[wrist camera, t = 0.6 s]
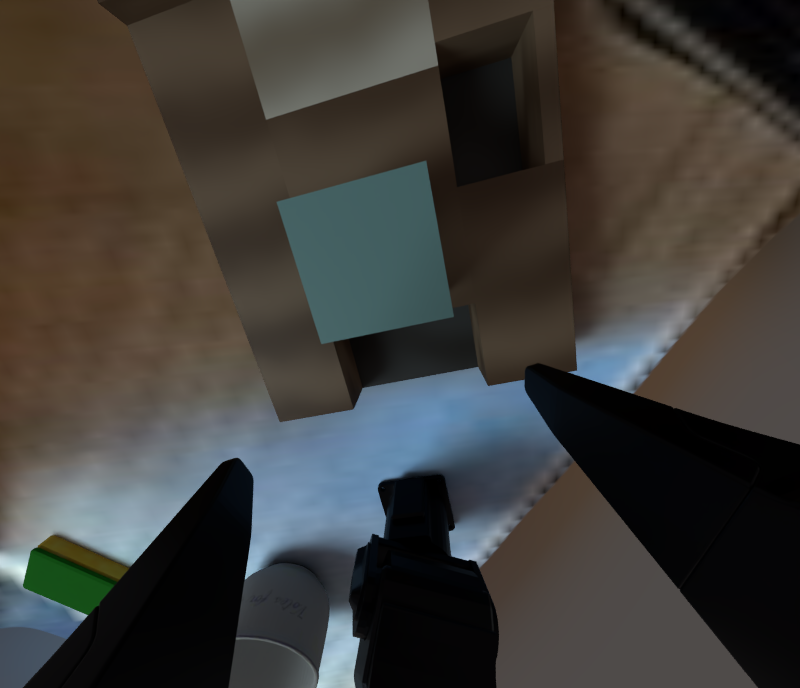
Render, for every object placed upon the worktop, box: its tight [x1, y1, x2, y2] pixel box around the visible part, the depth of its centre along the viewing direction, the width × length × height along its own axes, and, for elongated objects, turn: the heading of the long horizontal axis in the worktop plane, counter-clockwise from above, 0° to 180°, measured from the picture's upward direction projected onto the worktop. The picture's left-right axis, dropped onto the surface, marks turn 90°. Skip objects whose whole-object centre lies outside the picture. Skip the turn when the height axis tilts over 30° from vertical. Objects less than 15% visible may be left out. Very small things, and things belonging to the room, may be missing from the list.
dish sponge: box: [23, 535, 129, 615], centre depth 35 cm, size 7×14×2 cm, turn 60°
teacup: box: [229, 563, 330, 688], centre depth 30 cm, size 14×11×8 cm
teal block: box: [277, 161, 454, 344], centre depth 15 cm, size 6×6×7 cm
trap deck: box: [97, 0, 577, 422], centre depth 19 cm, size 26×22×6 cm
